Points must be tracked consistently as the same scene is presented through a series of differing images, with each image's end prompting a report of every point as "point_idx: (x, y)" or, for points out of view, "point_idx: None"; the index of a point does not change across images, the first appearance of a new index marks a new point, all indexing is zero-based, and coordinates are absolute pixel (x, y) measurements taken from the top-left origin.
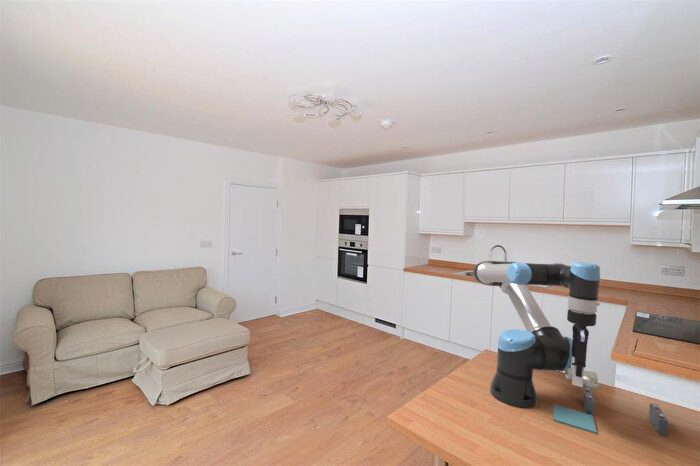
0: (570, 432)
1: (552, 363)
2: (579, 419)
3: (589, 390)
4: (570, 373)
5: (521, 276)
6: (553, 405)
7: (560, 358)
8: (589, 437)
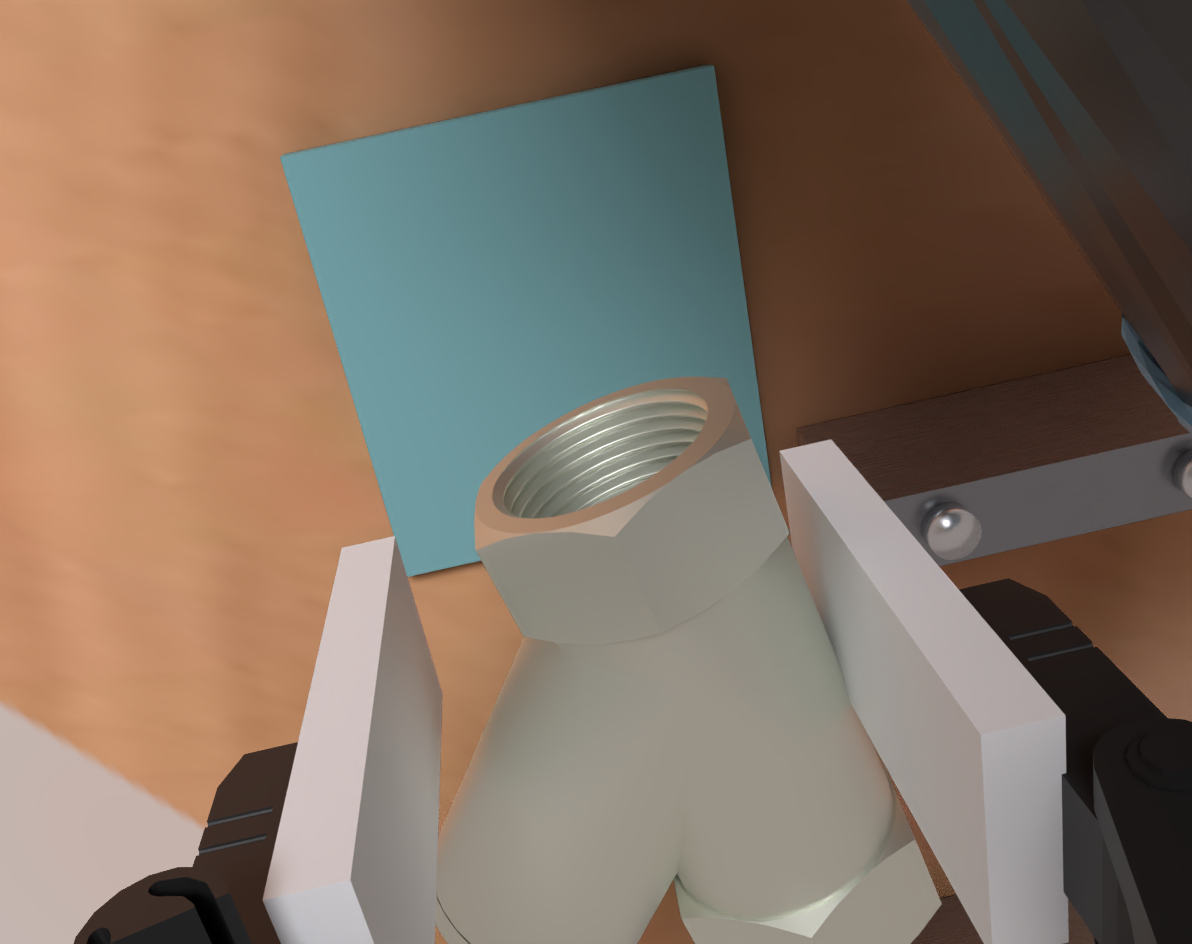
0: (185, 357)
1: (938, 38)
2: (551, 403)
3: (1186, 493)
4: (491, 574)
5: None
6: (682, 79)
7: (1162, 274)
8: (267, 522)
